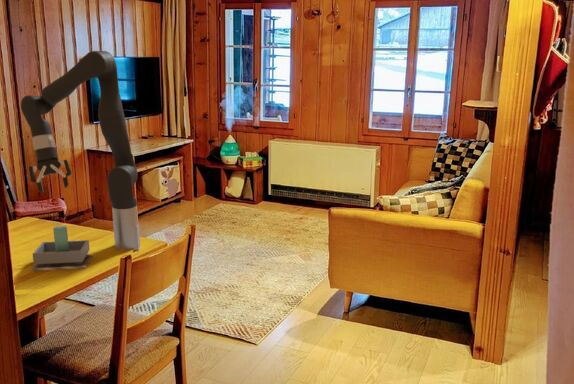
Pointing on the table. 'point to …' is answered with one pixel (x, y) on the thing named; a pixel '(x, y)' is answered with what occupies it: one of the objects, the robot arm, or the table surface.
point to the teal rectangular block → (61, 239)
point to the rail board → (64, 265)
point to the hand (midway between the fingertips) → (54, 190)
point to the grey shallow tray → (61, 253)
